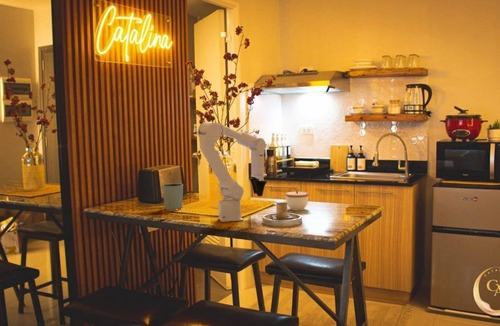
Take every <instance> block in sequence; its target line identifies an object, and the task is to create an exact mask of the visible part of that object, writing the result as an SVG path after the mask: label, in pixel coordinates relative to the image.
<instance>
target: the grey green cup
mask: <svg viewBox="0 0 500 326" xmlns="http://www.w3.org/2000/svg"><path fill="white" fill-rule="evenodd" d="M161 188H162V195H163V204H164V210H165V209H166V210H165V211H177V210H176V209H180V210H182V209H183V198H184V196H183V194H184V184H183V183H179V182H176V183H175V182H173V183H164V184H162V186H161ZM181 208H182V209H181Z"/></svg>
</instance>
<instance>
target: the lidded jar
mask: <svg viewBox="0 0 500 326" xmlns="http://www.w3.org/2000/svg"><path fill="white" fill-rule="evenodd" d="M285 202H287V208H289V209H290V210H291V211H297V212H298V211H303V210H305V208H306V207H307V206H308V203H309V193H308V192H305V191H299V189H295V191H289V192H286V193H285Z"/></svg>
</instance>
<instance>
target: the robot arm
mask: <svg viewBox="0 0 500 326" xmlns="http://www.w3.org/2000/svg"><path fill="white" fill-rule="evenodd" d="M196 133H197V136H198V141H199V149H200V151H201V152H202V154H203V156H204V158H205V160H206V162H207V163H208V165H209V166H210V168H211V169H212V172H213V173H214V175H215V177H216V178H217V180H218V181H219V184H218V187H219V189H220V194H221V195H222V197H223V199H220V200H219V201H218V219H219V220H220V222H221V223H224V222H225V223H226V222H239V221H244V219H243V218H242V217H241V216H242V214H241V200H242V197H243V195H244V187H243V186H241V185H240V184H238V182H237V180H235V179H234V178H233V177H232V175H231V174H230V172H229V170H228V169H227V167H226V165H225V164H224V162H223V159H222V158H221V156H220V154H219V152H218V151H217V150H216V148H215V145H216V144H217V143H218V140H219V138H221V136H225V137H228V138H231V139H233V140H236V143H237V144H239V145H241V146H244V147H245V148H248V149H249V150H250V162H251V163H250V164H251V167H250V168H251V174H250V178H249V181H250V183H251V187H252V191H253V194H254V195H255V194H256V195H257V197H263V194H264V190H265V187H266V184H267V180H265V179H264V177H267V176H268V175H267V173H265V153H266V152H265V150H266V148H267V143H266V141H265V139H264V138H262V137H257V134H256V135H255V134H254V135H253V134H251V133H249V131H247V130H244V131H240V132H238V131H236V130H235V129H233V128H230V127H228V126H226V125H224V124H221V123H218V122H202V123H200V125H199V127H198V129H197V132H196Z"/></svg>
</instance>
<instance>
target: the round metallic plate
mask: <svg viewBox="0 0 500 326" xmlns="http://www.w3.org/2000/svg"><path fill="white" fill-rule="evenodd" d="M261 220H262V224H264V225H265V226H270V227H280V228H283V227H284V228H285V226H287V227H295V226H299V224H300V225H301V224H302V223H303V216H302V215H300V214H298V213H293V212H287V217H284V218H277V214H276V212H274V213H267V214H264V215H263V216H262V219H261Z"/></svg>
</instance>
